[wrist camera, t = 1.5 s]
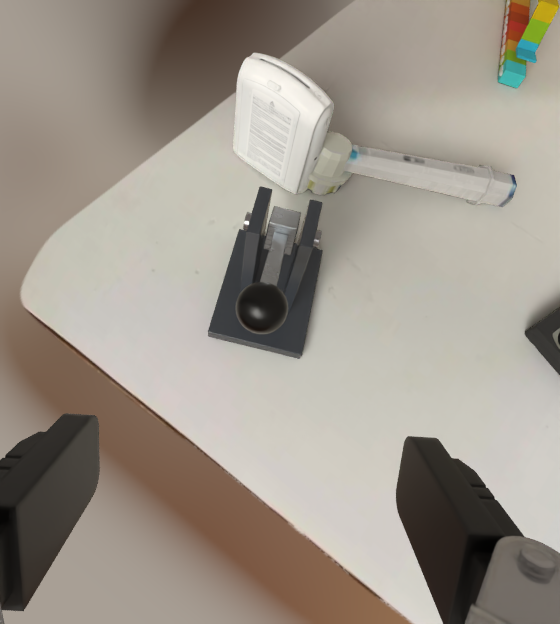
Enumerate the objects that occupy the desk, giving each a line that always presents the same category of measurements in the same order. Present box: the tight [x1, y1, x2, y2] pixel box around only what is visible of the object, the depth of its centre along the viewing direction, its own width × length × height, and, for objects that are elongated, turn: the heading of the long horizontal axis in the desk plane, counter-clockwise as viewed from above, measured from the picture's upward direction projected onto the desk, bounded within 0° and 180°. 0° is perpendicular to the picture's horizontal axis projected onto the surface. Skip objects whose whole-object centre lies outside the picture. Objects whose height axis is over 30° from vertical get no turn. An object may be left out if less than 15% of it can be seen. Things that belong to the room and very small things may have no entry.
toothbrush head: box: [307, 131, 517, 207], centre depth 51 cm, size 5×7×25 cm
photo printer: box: [233, 53, 334, 194], centre depth 46 cm, size 10×4×12 cm, turn 54°
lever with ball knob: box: [236, 206, 301, 334], centre depth 31 cm, size 13×3×3 cm, turn 169°
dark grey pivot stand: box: [208, 186, 322, 359], centre depth 39 cm, size 12×9×13 cm
